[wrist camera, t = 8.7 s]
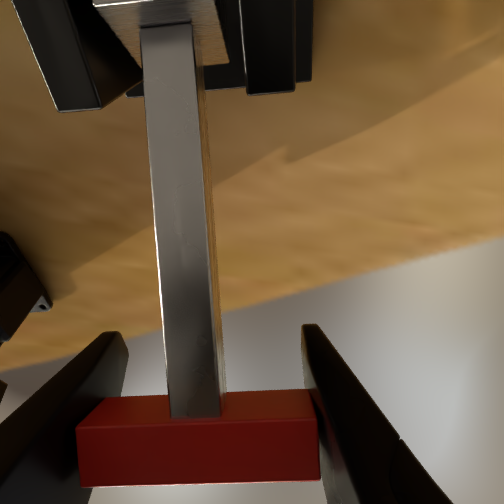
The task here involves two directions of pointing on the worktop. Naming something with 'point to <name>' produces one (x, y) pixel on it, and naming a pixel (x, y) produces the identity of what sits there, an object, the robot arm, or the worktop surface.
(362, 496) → the robot arm
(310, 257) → the worktop surface
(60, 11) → the toaster bracket
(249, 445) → the lever
